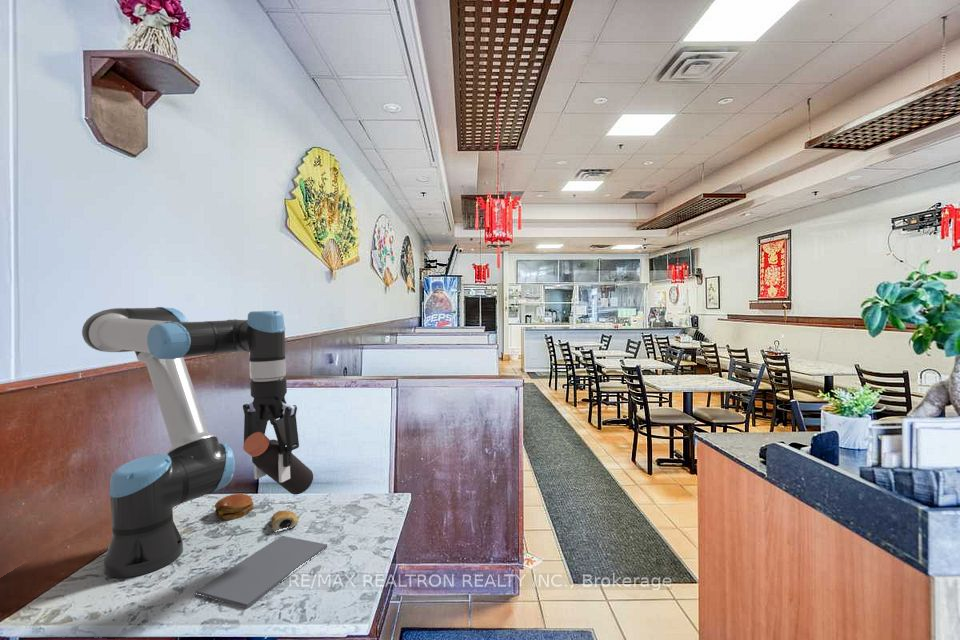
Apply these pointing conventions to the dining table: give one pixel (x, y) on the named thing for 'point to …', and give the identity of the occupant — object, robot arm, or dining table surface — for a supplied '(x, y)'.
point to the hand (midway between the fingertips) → (272, 478)
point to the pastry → (283, 520)
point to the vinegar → (267, 461)
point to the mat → (260, 571)
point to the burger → (233, 506)
